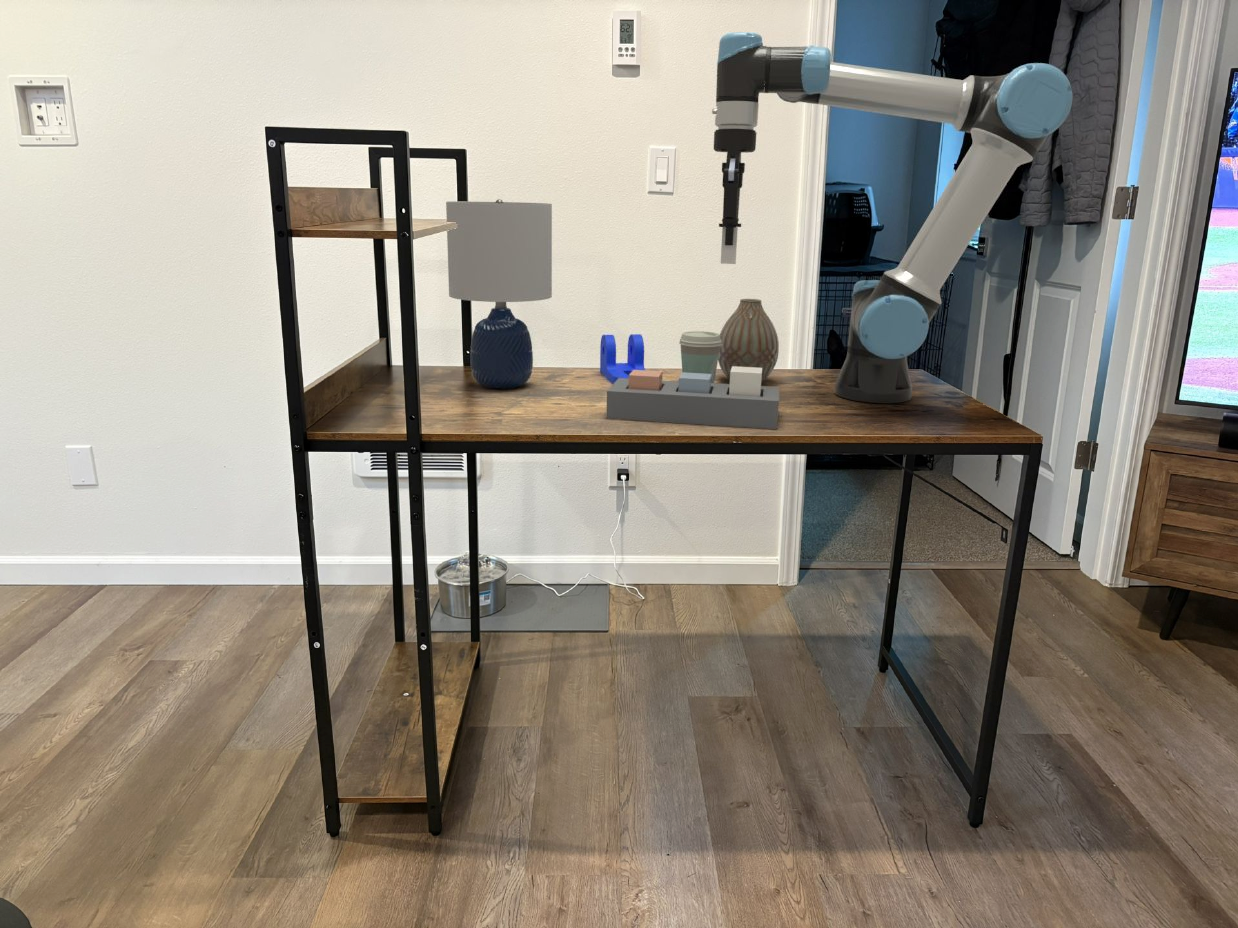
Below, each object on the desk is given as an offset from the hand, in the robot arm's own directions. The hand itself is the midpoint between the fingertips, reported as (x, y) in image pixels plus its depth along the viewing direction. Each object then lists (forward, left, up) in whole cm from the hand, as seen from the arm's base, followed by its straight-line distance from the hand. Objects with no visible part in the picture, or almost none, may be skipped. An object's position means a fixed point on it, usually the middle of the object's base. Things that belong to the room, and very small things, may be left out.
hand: (728, 263), depth 169 cm
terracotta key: (+13, +13, -23) cm, 30 cm away
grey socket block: (+4, +13, -26) cm, 30 cm away
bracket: (+21, -17, -27) cm, 38 cm away
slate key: (+4, +13, -23) cm, 27 cm away
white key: (-5, +13, -22) cm, 26 cm away
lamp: (+45, -3, -27) cm, 52 cm away
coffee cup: (+5, -7, -27) cm, 28 cm away
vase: (-4, -22, -27) cm, 35 cm away
